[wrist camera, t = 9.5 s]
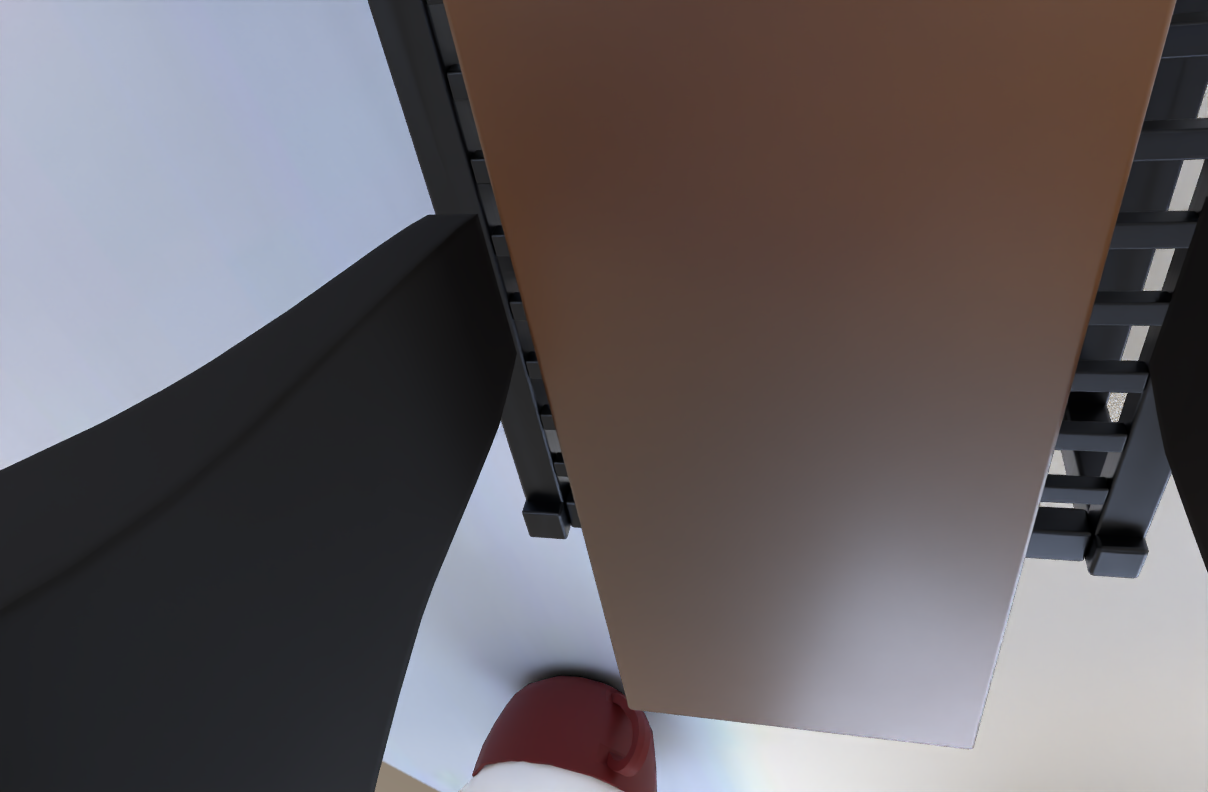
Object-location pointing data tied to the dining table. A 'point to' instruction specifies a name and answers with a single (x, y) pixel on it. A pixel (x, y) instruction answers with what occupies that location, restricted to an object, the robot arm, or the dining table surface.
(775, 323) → the shoe brush
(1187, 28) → the shoe rack
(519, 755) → the cocoa
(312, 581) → the robot arm
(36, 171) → the dining table surface
